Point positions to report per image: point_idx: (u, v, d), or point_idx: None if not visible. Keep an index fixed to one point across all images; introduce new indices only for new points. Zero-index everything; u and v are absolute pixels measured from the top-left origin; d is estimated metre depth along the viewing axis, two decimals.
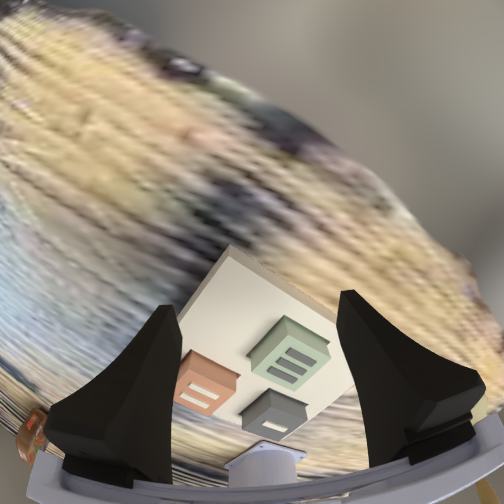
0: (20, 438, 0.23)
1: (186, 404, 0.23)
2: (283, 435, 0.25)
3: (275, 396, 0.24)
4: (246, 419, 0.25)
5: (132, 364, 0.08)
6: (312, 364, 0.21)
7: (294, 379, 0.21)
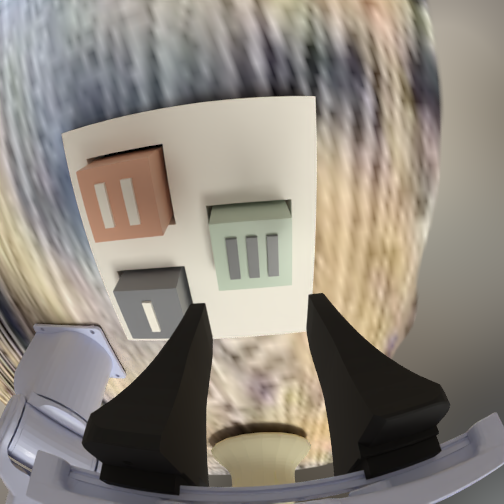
0: None
1: (88, 204, 0.14)
2: (146, 335, 0.20)
3: (181, 282, 0.19)
4: (126, 283, 0.18)
5: (174, 365, 0.08)
6: (273, 274, 0.17)
7: (239, 275, 0.17)
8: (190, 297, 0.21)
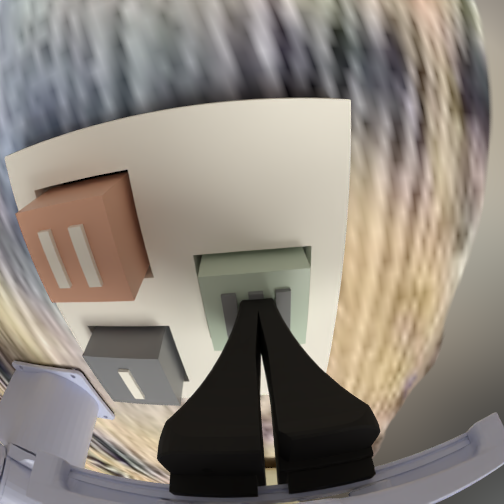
0: None
1: (35, 256, 0.10)
2: (128, 399, 0.15)
3: (166, 344, 0.14)
4: (98, 345, 0.13)
5: (243, 363, 0.08)
6: None
7: None
8: (179, 355, 0.17)
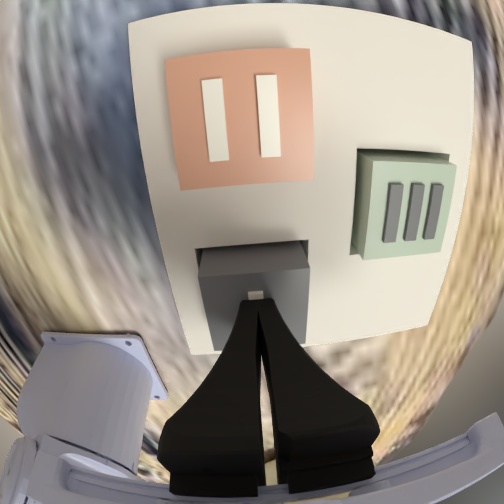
0: None
1: (179, 117, 0.08)
2: None
3: None
4: (218, 264, 0.12)
5: (243, 363, 0.08)
6: (429, 236, 0.12)
7: (394, 237, 0.12)
8: None
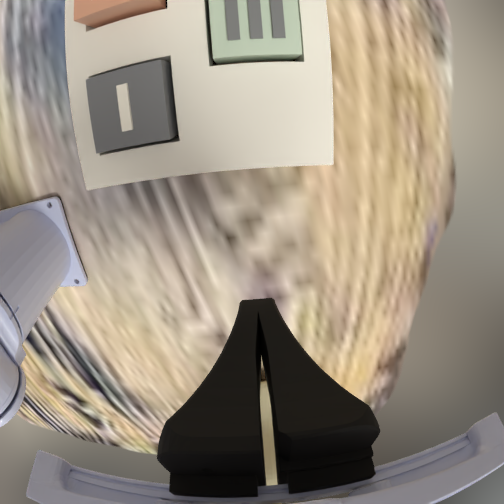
0: None
1: None
2: (114, 142, 0.14)
3: (168, 72, 0.14)
4: None
5: (243, 363, 0.08)
6: (278, 34, 0.11)
7: (238, 35, 0.11)
8: None
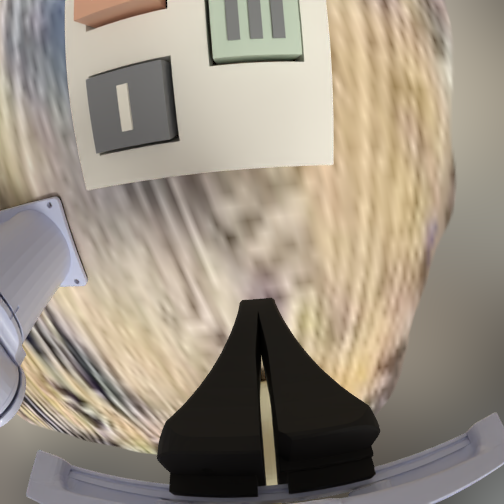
0: None
1: None
2: (114, 142, 0.14)
3: (168, 72, 0.14)
4: None
5: (243, 363, 0.08)
6: (278, 34, 0.11)
7: (238, 35, 0.11)
8: None
